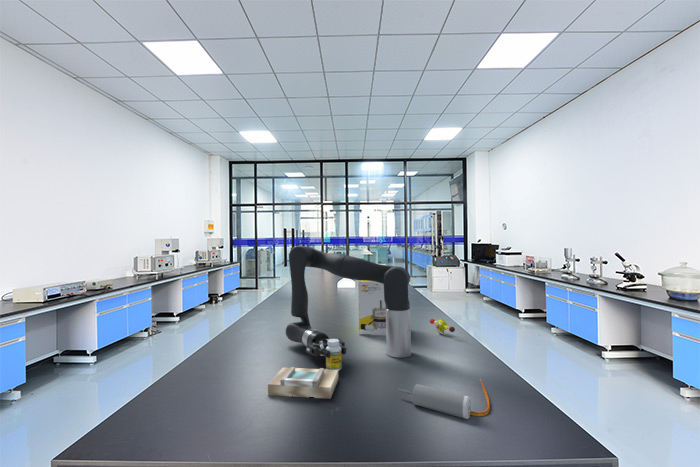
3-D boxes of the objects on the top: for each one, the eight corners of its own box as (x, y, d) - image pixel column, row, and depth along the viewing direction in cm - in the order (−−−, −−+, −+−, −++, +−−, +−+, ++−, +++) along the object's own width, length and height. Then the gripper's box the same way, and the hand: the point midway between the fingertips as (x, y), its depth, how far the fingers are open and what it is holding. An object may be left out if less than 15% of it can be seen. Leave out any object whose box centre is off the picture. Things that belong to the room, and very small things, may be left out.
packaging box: (392, 326, 158) (391, 277, 159) (394, 335, 142) (393, 281, 143) (361, 326, 159) (360, 277, 161) (359, 335, 143) (358, 281, 144)
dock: (338, 379, 95) (338, 365, 96) (330, 399, 83) (330, 382, 84) (283, 377, 98) (282, 362, 98) (267, 395, 86) (267, 379, 86)
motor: (484, 427, 70) (484, 403, 70) (394, 401, 81) (395, 381, 82) (497, 400, 89) (497, 382, 90) (423, 383, 101) (423, 367, 102)
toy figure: (425, 329, 150) (425, 316, 151) (435, 328, 152) (435, 315, 152) (448, 340, 133) (447, 324, 133) (458, 339, 135) (458, 323, 135)
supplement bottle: (336, 364, 107) (336, 337, 108) (344, 369, 103) (344, 340, 103) (323, 368, 105) (322, 339, 105) (330, 373, 100) (330, 343, 100)
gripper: (297, 333, 112) (317, 345, 98) (331, 327, 120) (355, 338, 106) (297, 354, 112) (318, 369, 98) (332, 346, 120) (355, 360, 105)
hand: (337, 353), depth 102 cm, fingers closed on supplement bottle, 5 cm apart
